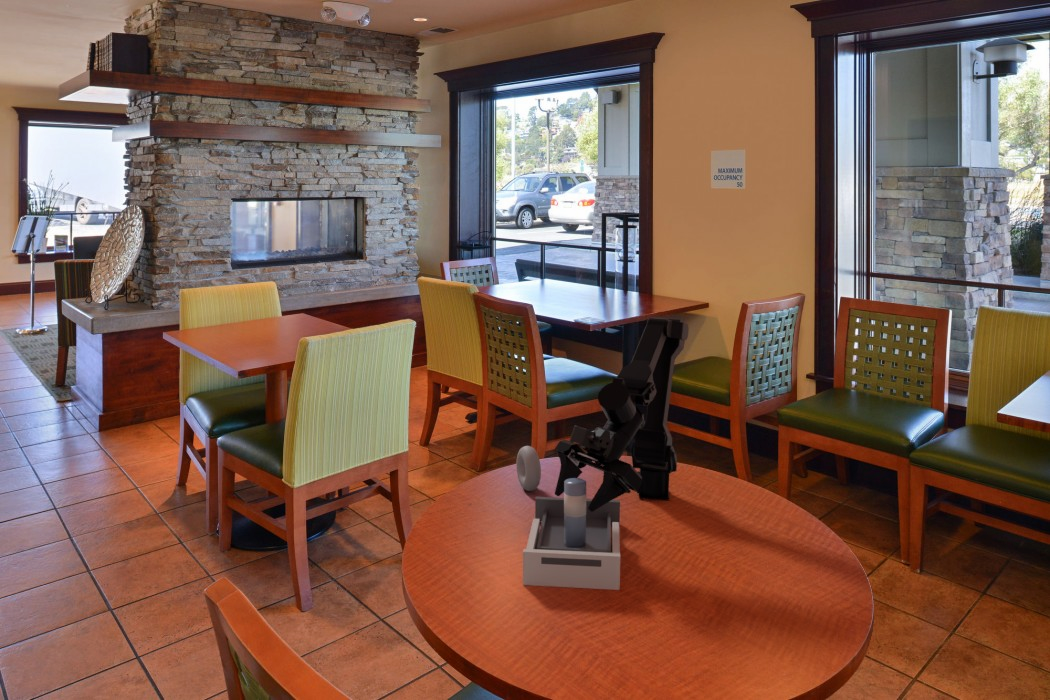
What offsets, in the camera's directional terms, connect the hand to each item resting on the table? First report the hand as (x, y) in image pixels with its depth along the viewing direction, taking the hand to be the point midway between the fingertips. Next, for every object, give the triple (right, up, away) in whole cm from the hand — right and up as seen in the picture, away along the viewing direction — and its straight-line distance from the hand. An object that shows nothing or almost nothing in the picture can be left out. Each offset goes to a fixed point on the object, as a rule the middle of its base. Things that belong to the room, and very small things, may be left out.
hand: (572, 502), depth 144 cm
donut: (-8, -3, +32) cm, 33 cm away
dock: (0, -10, -2) cm, 10 cm away
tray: (+1, -9, +5) cm, 10 cm away
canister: (+1, -8, +2) cm, 8 cm away
